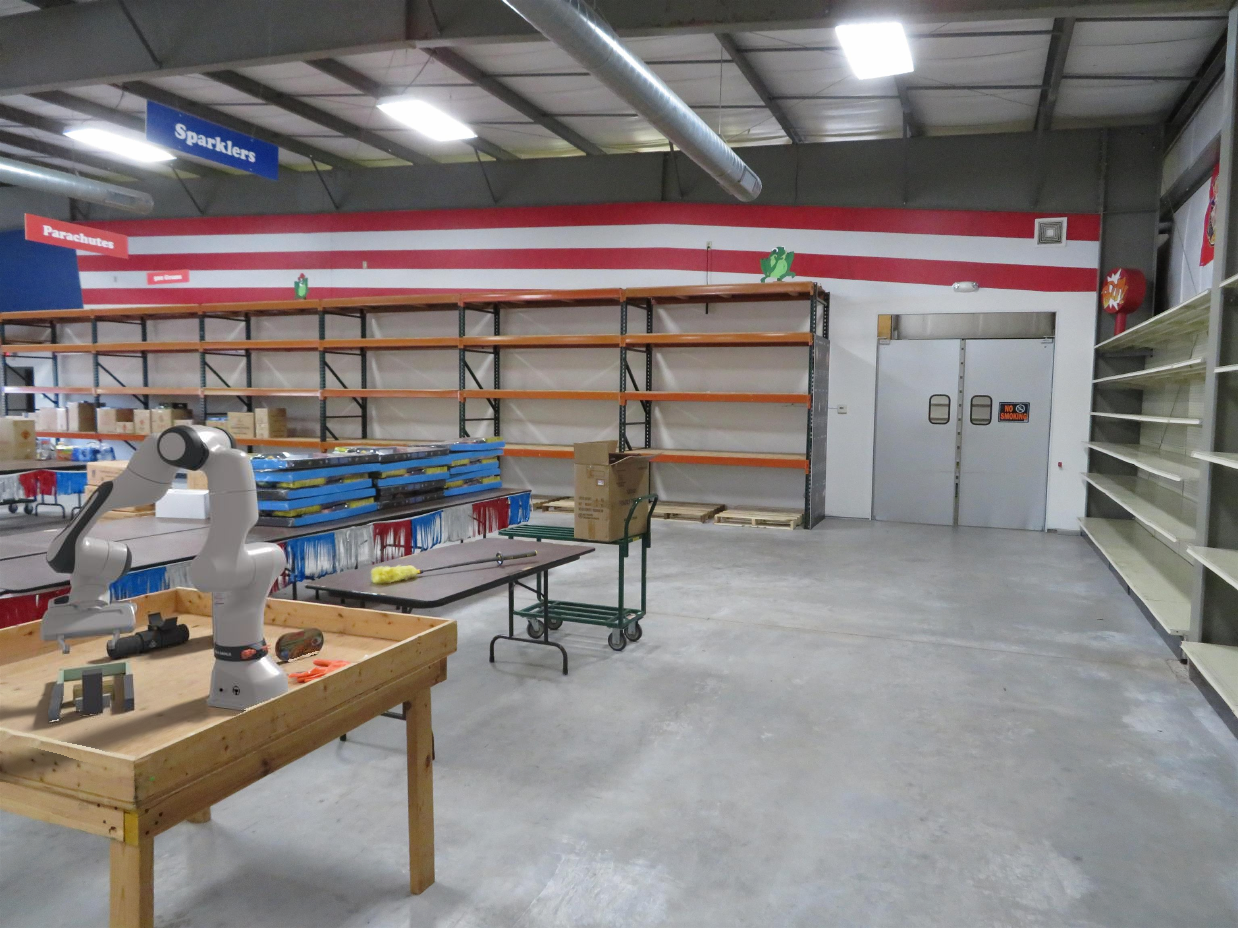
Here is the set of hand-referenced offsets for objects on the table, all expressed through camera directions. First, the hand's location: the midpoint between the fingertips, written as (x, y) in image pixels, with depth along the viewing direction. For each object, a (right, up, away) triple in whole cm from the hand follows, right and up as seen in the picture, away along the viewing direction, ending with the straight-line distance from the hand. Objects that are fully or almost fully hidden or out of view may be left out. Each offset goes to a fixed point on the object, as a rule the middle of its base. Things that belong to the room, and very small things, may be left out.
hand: (88, 650), depth 197 cm
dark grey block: (+5, -13, -7) cm, 16 cm away
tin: (+37, -12, +38) cm, 55 cm away
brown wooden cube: (+2, -13, +2) cm, 13 cm away
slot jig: (+2, -13, -1) cm, 13 cm away
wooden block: (-2, -13, 0) cm, 13 cm away
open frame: (-7, -12, +13) cm, 19 cm away
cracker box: (+6, -10, +55) cm, 56 cm away
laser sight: (-9, -10, +42) cm, 44 cm away
